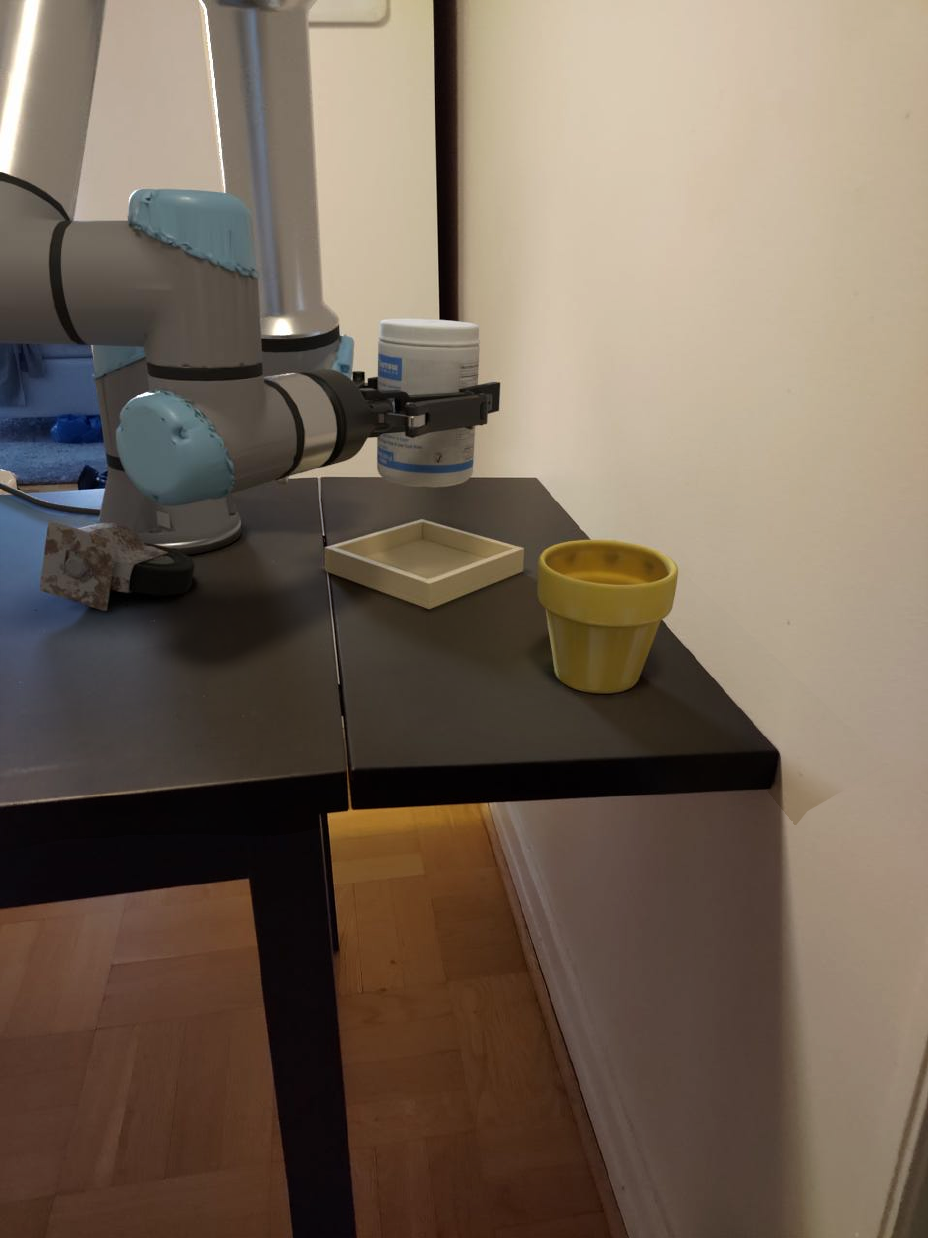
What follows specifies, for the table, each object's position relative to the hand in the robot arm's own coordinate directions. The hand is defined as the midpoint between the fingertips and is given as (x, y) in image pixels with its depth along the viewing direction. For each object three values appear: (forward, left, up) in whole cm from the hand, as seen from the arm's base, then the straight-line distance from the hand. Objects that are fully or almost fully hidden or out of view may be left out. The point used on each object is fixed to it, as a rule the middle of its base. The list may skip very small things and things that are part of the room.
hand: (451, 390), depth 85 cm
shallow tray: (+1, -4, -18) cm, 18 cm away
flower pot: (+27, -12, -18) cm, 35 cm away
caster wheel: (-15, -28, -18) cm, 37 cm away
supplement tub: (+1, -4, -8) cm, 9 cm away
